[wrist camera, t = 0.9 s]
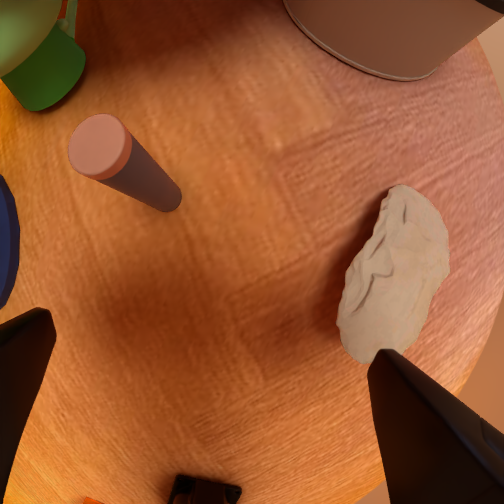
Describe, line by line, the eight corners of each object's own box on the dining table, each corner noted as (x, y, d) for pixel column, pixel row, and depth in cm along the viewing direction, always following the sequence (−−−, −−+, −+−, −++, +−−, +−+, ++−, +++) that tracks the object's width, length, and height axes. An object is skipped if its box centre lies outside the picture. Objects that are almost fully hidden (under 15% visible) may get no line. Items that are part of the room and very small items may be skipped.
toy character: (99, -10, 21) (67, -85, 8) (103, 98, 20) (28, -4, 7) (29, 26, 20) (-17, -35, 7) (15, 144, 20) (-79, 87, 7)
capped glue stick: (176, 216, 22) (110, 182, 9) (148, 207, 21) (57, 167, 9) (186, 186, 22) (135, 118, 9) (158, 178, 21) (82, 108, 9)
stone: (374, 186, 26) (290, 328, 20) (408, 156, 21) (323, 322, 15) (433, 239, 26) (370, 383, 20) (471, 219, 21) (415, 388, 15)
